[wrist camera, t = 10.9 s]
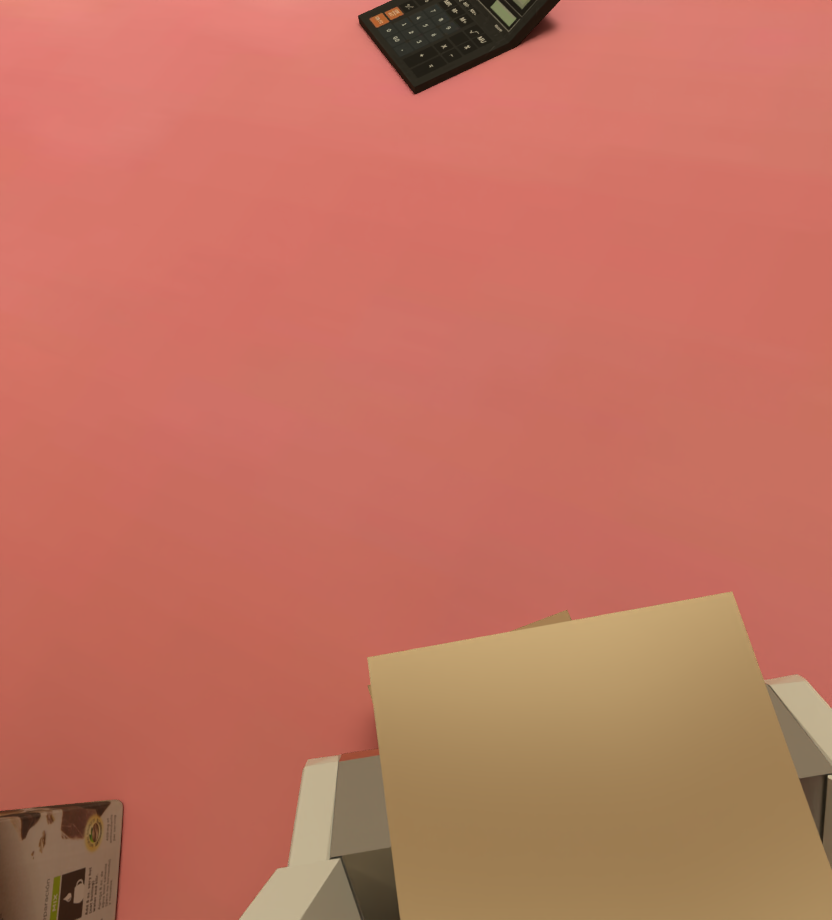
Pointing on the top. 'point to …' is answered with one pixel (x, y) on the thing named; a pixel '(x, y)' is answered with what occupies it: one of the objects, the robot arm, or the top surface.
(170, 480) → the top surface
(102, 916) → the coffee box
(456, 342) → the top surface
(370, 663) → the oak block
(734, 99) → the top surface
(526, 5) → the calculator
